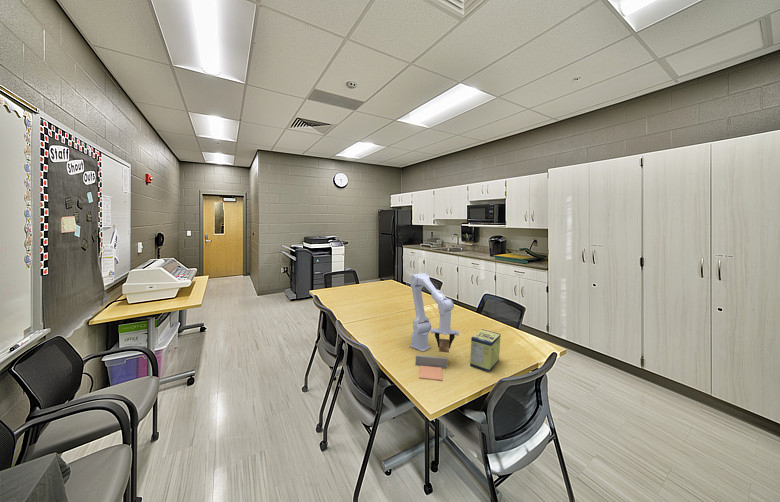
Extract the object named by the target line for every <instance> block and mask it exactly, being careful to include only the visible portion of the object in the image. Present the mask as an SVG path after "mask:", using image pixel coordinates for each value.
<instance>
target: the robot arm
mask: <svg viewBox="0 0 780 502" xmlns="http://www.w3.org/2000/svg"><path fill="white" fill-rule="evenodd" d="M409 283H410V288H411V292H412V299H413V304H414V310H415V318H414V319H413V321H412V324H413V325H412V329H413V332H412V333H411V337H410V339H411V340H410V341H411V343H410V347H411V348H412V349H416V350H418V351H421V352H425V351H426V350H429V349H431V348H432V347H431V346H430V345H428V344H429V334H431V335H432V334H434V337H435V340H436V343H437V348H439V339H440V335H446V336H447V335H449V349H451V346H452V344H453V341H454V340H455V338H456V337H458V336H459V335H460V330H457V329H456V330H454V329H451V324H452V323H451V320H452V319H451V318H452V311H453V310H454V307H455V303H454V301H453V300H452V299H451V298H448V297H446V296H445V295H444V293H443V292H442V290H439V289H437V288H436V286H434V284H433V283H432V281H431V280H430V276H429V274H428V273H426V272H423V273H413V274H411V276H410V277H409ZM423 287H425V289H427V291H428V292H429V293H431V295H430V296H431V298H432V299H433V300H434V302H435V303H436V305H437V309H438V313H439V328H432V323H431V322H430V318H429V317H427V316H426V312H425V306H424V301H423V294H422V289H423Z"/></svg>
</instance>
